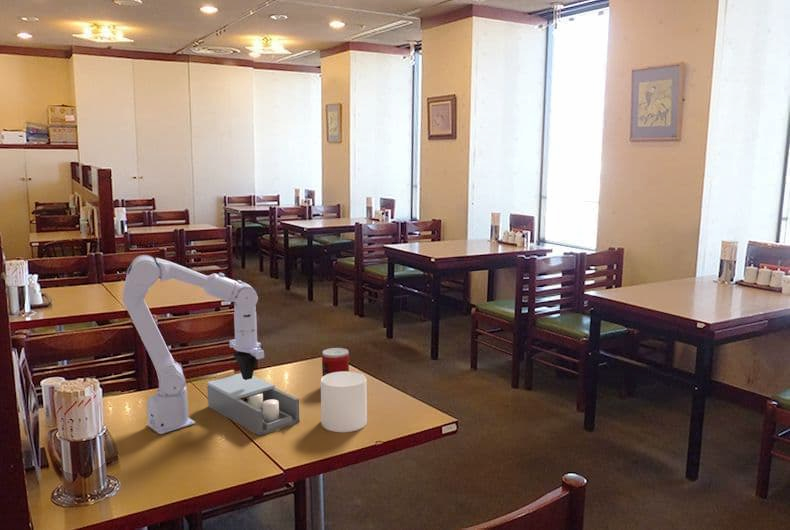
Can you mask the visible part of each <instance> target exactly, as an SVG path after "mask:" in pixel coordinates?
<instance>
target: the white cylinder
mask: <svg viewBox="0 0 790 530" xmlns="http://www.w3.org/2000/svg"><path fill="white" fill-rule="evenodd" d="M367 382H368V381H367V377H366V376H365V375H364V374H362V373H360V372H357V371H350V370H349V371H341V372H333V373H329V374H327V375H325V376H323V375H322V377H321V379H320V410H321V411H320V414H321V416H320V417H321V419H320V420H321V426H322V427H323V428H324V429H325V430H327V431H330V432H333V433H351V432H357V431H358V430H361V429H362V428H364V427H365V426H366V425H367V422H368V418H367V417H368V412H367V411H368V410H367V409H368V408H367V407H368V406H367V405H368V404H367V403H368V402H367V400H368V399H367V397H368V396H367V395H368V394H367V391H368V390H367V385H368V384H367Z"/></svg>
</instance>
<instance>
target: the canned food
mask: <svg viewBox="0 0 790 530" xmlns="http://www.w3.org/2000/svg"><path fill="white" fill-rule="evenodd" d="M321 353H322V354H321V362H322V363H321V366H322V367H321V368H322V377H323V376H325V375H327V374H329V373H333V372H341V371H349V372H350V364H349V363H350V359H349V358H350V356H349V355H350V354H349V353H350V352H349V350H348V349H347V348H343V347H330V348H327V349H324V350H322V352H321Z"/></svg>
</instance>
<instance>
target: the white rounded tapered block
mask: <svg viewBox="0 0 790 530" xmlns="http://www.w3.org/2000/svg"><path fill="white" fill-rule="evenodd" d="M246 399H247V403H248V404H250V405H252V406H254V407H256V408H258V409H260V410H262V411H263V393H262V392H260V393H256V394H253V395H250V396H247V398H246Z"/></svg>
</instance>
